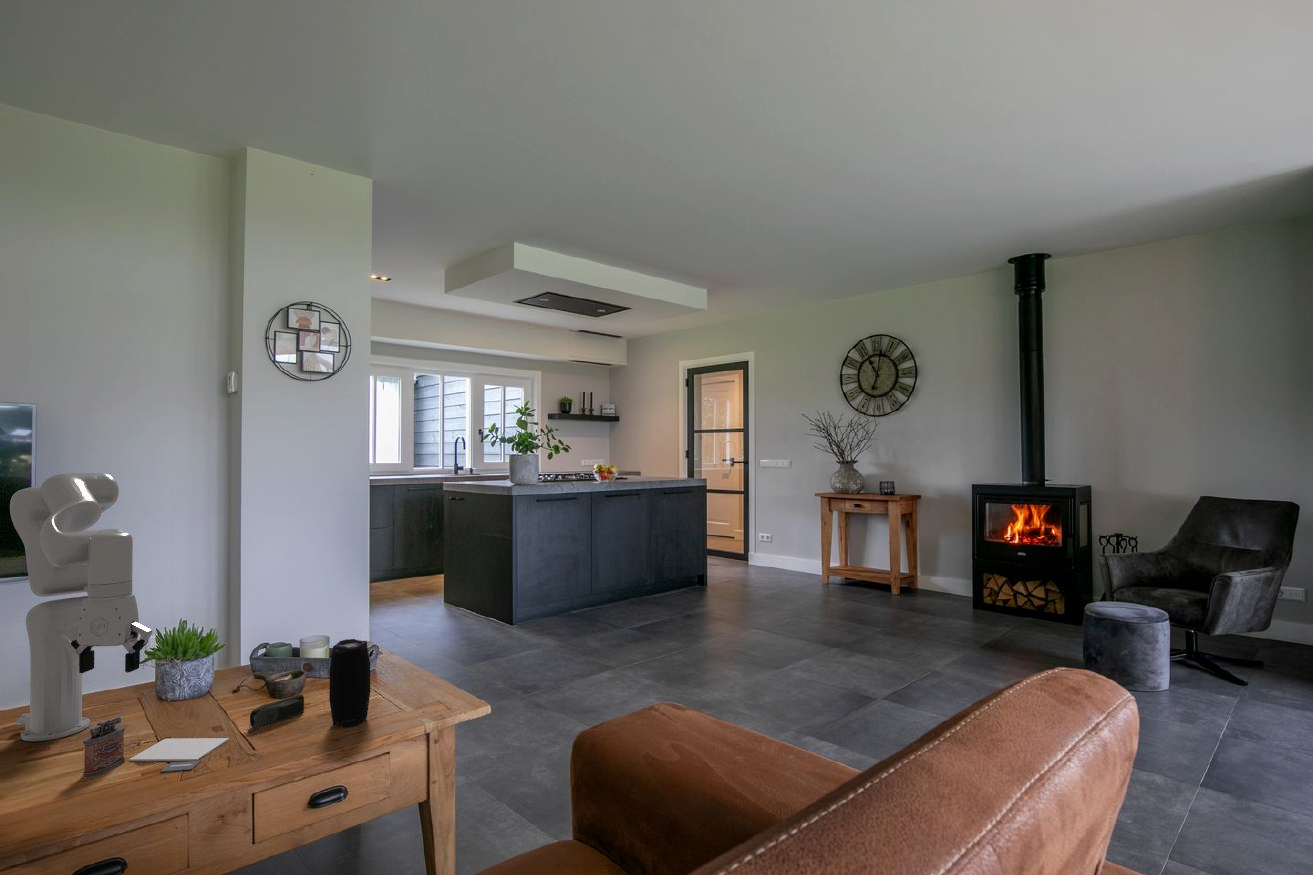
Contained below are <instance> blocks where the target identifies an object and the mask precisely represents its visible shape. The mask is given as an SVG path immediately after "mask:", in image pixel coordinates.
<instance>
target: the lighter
mask: <svg viewBox="0 0 1313 875" xmlns="http://www.w3.org/2000/svg"><path fill="white" fill-rule="evenodd" d="M121 722H122V717H120V716H115V717H113V718H110V719H107V721H99V722H98V723H97V724H96V725H94V726H91V727H90V728H89V732H90V736H88V737H86V738H84V739H83V745H84V766H83V768H84V771H83V772H82V778H85V779H86V778H93V777H96V776H100V775H101V774H103V773H106V772H108V771H111V770H113V769H115V768H117V767H119V766H120V765H122V764H124V763H125V761H126V760H125V759H126V757H125V756H124V751H125V750H124V749H125V745H124V744H125V737H124V736H125V731H126V726H124V725H118V724H121ZM116 725H118V726H116Z"/></svg>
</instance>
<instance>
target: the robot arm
mask: <svg viewBox="0 0 1313 875" xmlns="http://www.w3.org/2000/svg"><path fill="white" fill-rule="evenodd" d="M119 492H120V490H119V485H118V482H117V480H116V479H115V478H114V476H112V475H110V474H109V473H105V472H81V473H80V472H78V473H77V472H76V473H69V472H68V473H60V474H55V475H52V476H50V477H48V478H47V479H45V480H44V481H43V482H42V483H41V485H40V486H31V487H26V488H22V489H20V490H17V491H15V493H13V495H12V496H11V499H10V502H9V514H10V518H11V521H12V523H13V527H14V529H15V530H16V532H17V534H18V535H19V538H20V539H21V541H22V543H23V545H24V549H25V559H26V560H25V561H26V566H27V567H26V568H27V576H28V582H29V586H30V590H31V592H32V593H33V594H34V595H35V596H37V597H39V598H40V597H44V598H47V597H59V596H66V595H73V594H81V593H87V595H83V596H77V597H76V596H74V597H67V598H60V599H54V600H48V601H44V602H40V603H38V604H36V605H34V606H32V607H31V608H30V609H29V610H28V612H27V614H26V615H25V627H26V631H27V637H28V643H29V654H30V660H29V661H30V663H29V664H30V670H29V671H30V682H29V685H30V686H29V688H30V690H29V693H30V694H29V712H28V713H22V714H21V715H20V717H19V718H18V719H16V720H15V724H16V725H17V726H19V725H21V726H22V725H25V727H24V730H23V731H21V733H20V739H21V740H22V741H25V742H42V741H50V740H57V739H61V738H64V737H67V736H72V735H74V734H76V733H79V732H80V733H81V731H84V730H85V729H87V728H88V727H89V726H90V724H91V720H90V718H89V717H85V716H83V674H85V673H87V672H90V671H92V670H94V669H95V650H94V649H93V648H94V647H118V646H123V648H124V649H125V650H126V651H127V653H125V656H124V672H125V673H131V672H134V671H137V670H138V669H139V668H140V664H141V651H142V650H144V647H145V646H146V645H147V644H148V643H149V640H150V638H151V636H152V634H153V630H152V629H150V628H148V627H146V626H144V625H142V624H140V619H139V609H138V604H137V598H136V595H135V594H133V559H134V558H133V557H134V556H133V554H134V553H133V548H134V547H133V545H134V544H133V543H134V542H133V540H134V539H133V536H132V534H131V533H129V532H126V531H124V530H123V529H118V528H107V529H105V528H104V529H90V530H87V529H89V528H91V527H92V526H94V525H95V524H96V523H97V522H98V521H99V520H100V517H101V515H102V513H104V512H105V511H107V510H109V509H110V508H111V507H113V506H114V504H116V502H117V500H118V498H119V494H120V493H119ZM139 635H140V637H139ZM138 638H139V639H138Z"/></svg>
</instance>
